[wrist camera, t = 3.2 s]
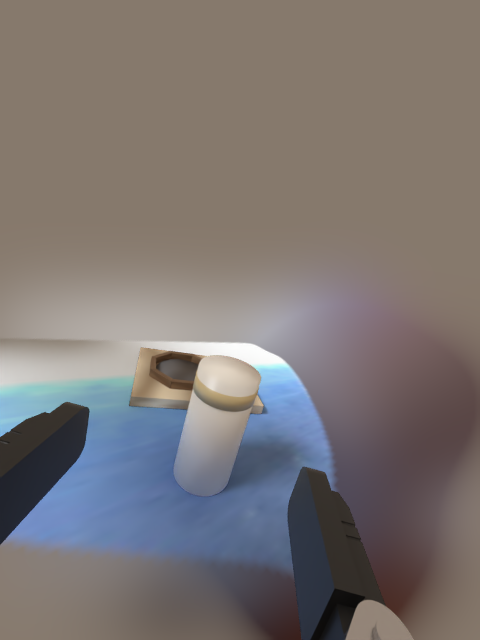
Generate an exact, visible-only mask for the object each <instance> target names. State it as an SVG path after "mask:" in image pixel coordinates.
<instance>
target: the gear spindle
mask: <svg viewBox="0 0 480 640" xmlns="http://www.w3.org/2000/svg"><path fill="white" fill-rule="evenodd" d="M260 381H261V376H260V374H259V372H258V371H257V370H256V369H255V368H254V367H252V366H251V365H249V364H248V363H246V362H243V361H241V360H239V359H236V358H232V357H228V356H220V355H213V356H207V357H204V358H203V359H201V361H200V363H199V367H198V370H197V372H196V376H195V380H194V384H193V391H192V395H191V399H190V403H189V407H188V411H187V415H186V419H185V423H184V427H183V431H182V435H181V439H180V443H179V447H178V451H177V455H176V459H175V463H174V467H173V473H174V477H175V479H176V481H177V483H178V484H179V486H180V487H181V488H182V489H184V490H185V491H186V492H188V493H190V494H193V495H196V496H201V497H208V496H213V495H216V494H218V493H220V492H221V491H222V490H223V489H224V488H225V487H226V486H227V484H228V481H229V478H230V475H231V472H232V469H233V466H234V463H235V459H236V456H237V453H238V450H239V447H240V444H241V441H242V437H243V434H244V431H245V428H246V425H247V422H248V419H249V416H250V412H251V409H252V406H253V404H254V402H255V399H256V396H257V393H258V389H259V384H260Z"/></svg>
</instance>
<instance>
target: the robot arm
mask: <svg viewBox="0 0 480 640" xmlns="http://www.w3.org/2000/svg"><path fill="white" fill-rule="evenodd" d="M88 418H89V408H88V407H84V406H81V405H77V404H73V403H70V402H65V403H63V404H62V405H60V406H59V407H58V408H56V409H55V410H54V411H52V412H51V413H46V412H44V413H41V414H39V415H36V416H34V417H31V418H29V419H26V420H25V421H23V422H22V423H20V424H19V425H17V426H16V427H14V428H13V429H11V431H10V432H7V433H6V434H4V435H3V436H1V437H0V544H1V543H2V542H3V541H4V540H5V539H6V538H7V537H8V536H9V535H10V533H11V532H12V531H13V530H14V529H15V528H16V527H17V526H18V525H19V524H20V522H21V521H22V520H23V519H24V518H25V517H26V516H27V515H28V514H29V513H30V511H31V510H32V509H33V508H34V507H35V506H36V505H37V504H38V503H39V502H40V500H41V499H42V498H43V497H44V496H45V495H46V494H47V493H48V492H49V491H50V489H51V488H52V487H53V486H54V485H55V484H56V483H57V482H58V481H59V479H60V478H61V477H62V476H63V475H64V474H65V473H66V472H67V471H68V470H69V468H70V467H71V466H72V465H73V464H74V463H75V462H76V461H77V459H78V458H79V456H80V455H81V453H82V451H83V448H84V445H85V441H86V433H87V426H88ZM288 527H289V536H290V544H291V553H292V561H293V570H294V578H295V587H296V596H297V604H298V612H299V621H300V630H301V638H302V640H414V639H413V637H412V636H411V634H410V632H409V631H408V629H407V628H406V627H405V625H404V624H403V623H402V621H401V620H400V619H399V618H398V617H397V616H396V615H395V614H394V613H393V612H392V611H391V610H390V609H388V608H387V607H386V605H385V603H384V600H383V598H382V595H381V592H380V590H379V587H378V584H377V582H376V579H375V576H374V573H373V571H372V568H371V565H370V563H369V560H368V557H367V555H366V552H365V549H364V547H363V544H362V542H361V541H360V539H361V538H360V536H359V533H358V530H357V528H355V522H354V520H353V517H352V514H351V512H350V509H349V507H348V506H347V504H346V503H345V501H344V500H343V499H342V497H341V496H340V494H339V493H338V492H334V491H331V488H330V485H329V482H328V479H327V476H326V474H325V472H322V471H319V470H315V469H311V468H307V467H302V469H301V471H300V473H299V476H298V479H297V481H296V484H295V487H294V489H293V492H292V495H291V497H290V500H289V505H288Z"/></svg>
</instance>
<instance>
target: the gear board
mask: <svg viewBox="0 0 480 640" xmlns="http://www.w3.org/2000/svg"><path fill="white" fill-rule="evenodd" d="M204 357H207V356H202V355H195V354H189V353H181V352H174V351H164V350H157V349H149V348H142V347H141V349H140V354H139V359H138V364H137V369H136V373H135V378H134V383H133V388H132V393H131V398H130V404H129V406H139V407H155V408H171V409H188V407H189V403H190V399H191V395H192V391H193V384H194V380H195V376H196V372H197V370H198V367H199V363H200V361H201V359H203V358H204ZM263 407H264V405H263V404H262V402H261V400H260V398H259V397H258V395H257V396H256V399H255V402H254V404H253V406H252V409H251V412H250V413H253V414H261V413H262V410H263Z"/></svg>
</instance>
